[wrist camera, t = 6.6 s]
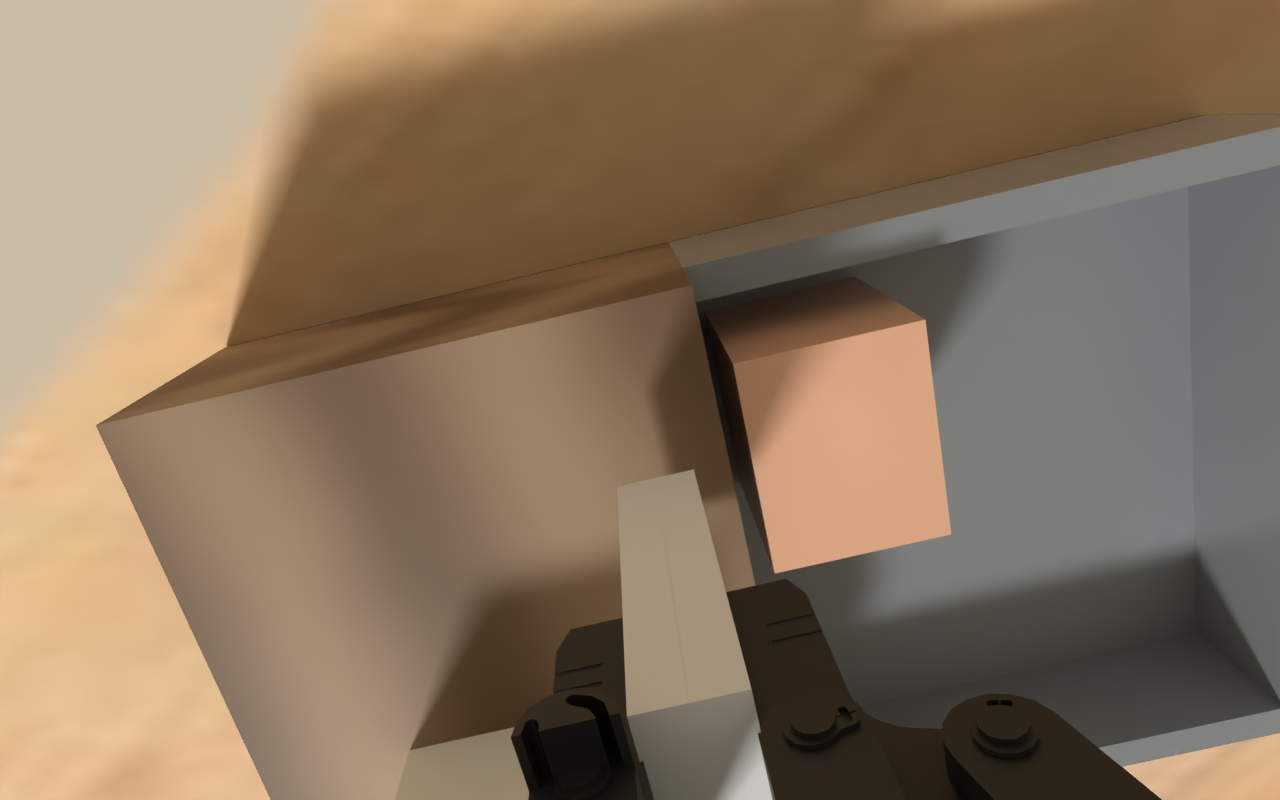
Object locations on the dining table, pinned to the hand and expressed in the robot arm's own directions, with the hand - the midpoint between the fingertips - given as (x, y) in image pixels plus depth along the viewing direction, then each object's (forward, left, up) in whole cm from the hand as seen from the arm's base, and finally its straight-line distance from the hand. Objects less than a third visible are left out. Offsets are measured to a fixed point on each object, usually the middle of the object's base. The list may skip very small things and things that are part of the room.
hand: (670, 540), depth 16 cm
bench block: (+5, +3, -7) cm, 9 cm away
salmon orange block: (-2, 0, -4) cm, 5 cm away
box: (-8, +3, -7) cm, 12 cm away
